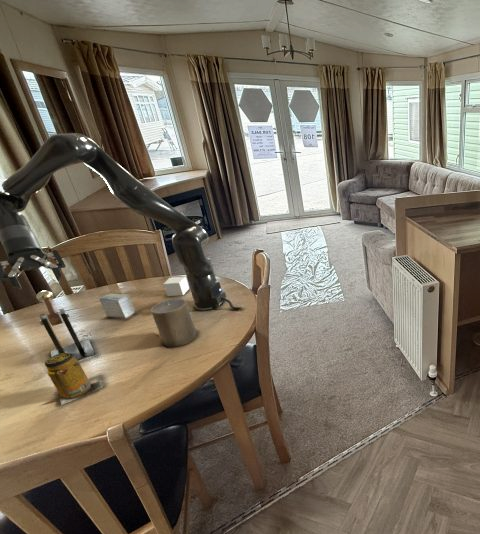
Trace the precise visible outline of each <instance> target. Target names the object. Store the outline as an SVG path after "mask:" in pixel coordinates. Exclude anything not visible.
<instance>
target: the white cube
mask: <svg viewBox="0 0 480 534" xmlns="http://www.w3.org/2000/svg"><path fill="white" fill-rule="evenodd" d="M162 284H163V287H164V291H165V293H166V297H175V296H184V295H185V294H186V293H187V292H188V290H190V287H189V283H188V280H187V277H186V276H177V277H176V276H175V277H169V278H168V279H167V280H165V282H163V283H162Z"/></svg>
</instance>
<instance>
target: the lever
mask: <svg viewBox="0 0 480 534" xmlns="http://www.w3.org/2000/svg"><path fill="white" fill-rule="evenodd" d="M54 297H55V294H54V293H53V292H51V291H50V290H42V291H39V292H38V293H37V294H36V297H35V298H36V299H37V300H38V302H41V303H44V304H45V306H46V309H47V311H48V313H49V314H47V315H46V317H47V319H48V321H49V323H50V325H51V327H54V326H57V325H58V326H59V325H61V324H63V321H62V320H63V319H62V317H61V315H60V313H59V311H58V312H56V311H55V309H54V307H53V304H52V300H53V299H54Z"/></svg>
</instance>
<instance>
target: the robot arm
mask: <svg viewBox="0 0 480 534" xmlns="http://www.w3.org/2000/svg"><path fill="white" fill-rule="evenodd" d="M76 164H84V165H86V166H87V167H89V168H90V169H92V171H94V172H96V173H97V174H98V175H100V177H101V178H103V180H104V181H105V183H106V184H107V186H108V188H109V190H110V192H111V193H112V195H113V196H114V197H115V198H116V199H117V200H118V201H119V202H120V203H122V204H123V205H125V206H126V207H127V208H128V209H130V210H131V211H133V212H135V213H136V214H138V215H140V216H142V217H145V218H148V219H150V220H153V221H156V222H158V223H160V224H162V225H165V226H166V227H167V228H169V229H170V230H171V231H173V232H174V234H173V235H172V238H171V242H172V247H173V249H174V252H175V255H176V258H177V260H178V263H179V264H180V265H181V266H182V268H183V271H184V274H185V277H186V280H187V283H188V287H189V290H190V293H191V296H192V300H193V305H194V306H195V307H194V308H195V309H196V310H198V311H209V310H216V309H217V308H219V307H220V306H221V305H222V304H223V303H224V302H227V303H228V304H229V306H230V308H231V309H233V310H242V309H243V307H241V306H236V307H235V306H234V305H233V303H232V301H231V300H229V299H227V293H226V291H223V290H222V286H221V283H220V281H217V277H216V273H215V270H214V266H213V263H212V258H210V257H209V256H206V255H205V253H204V249H203V247H205V246H206V245H207V244H208V242H209V241H210V238H209V237H210V236H209V235H208V232H207V231H206V230H205V229H204V228H203V227H202V226H200V225H199V224H197V223H196V222H195V221H193V220H191V219H189V218H188V217H187V216H185V215H184V214H183V213H181V212H179V211H178V210H177V209H175V208H174V207H173V206H172V205H170V204H169V203H168V202H167V201H165V200H164V199H162V198H161V197H160V196H159V195H158V194H156V192H154V191H153V190H152V189H150V188H149V187H148V186H147V185H146V184H144V183H143V182H141V181H140V180H139V179H137V178H136V177H135V176H134V175H133V174H131V173H130V172H129V171H128V170H127V169H125V168H124V167H122V165H120V164H119V163H118V162H117V161H115V159H113V158H112V157H111V156H110V155H109V154H108V153H107V152H106V151H105V150H104V149H102V148H101V147H100V146H99V145H98V144H97V143H96V141H94V140H92V139H91V137H89V136H86V135H84V134H82V133H78V132H68V133H67V132H66V133H65V132H63V133H56V134H53V135H49V137H48V138H46V140H45V141H44V142H43V143H42V144H41V146H40V147H39V149H38V150H37V151H36V152H35V153H34V155H33V156H31V158H30V159H29V160H28V161H27V162H26V163H25V164H24V165H23V166H21V167H20V168H19V169H17V170H16V171H15V172H14V173H12V174H10V176H8V177H7V178H6V179H4V180H3V182H2V183H1V188H2V189H1V190H0V243H1V245H2V247H3V249H4V251H5V253H6V256H7V260H3V261H0V280H1V281H3V282H5V281H9V282H10V283H11V286H12V287H13V289H18V291H20V290H22V289H23V288H22V286H21V283H20V281H19V279H18V277H19V276H20V275H21V274H22V273H23V271H26V272H27V271H31V270H37V269H41V267H43V268H45V269H49V270H51V271H52V272H53V274H54V276H55V279H56V280H57V282H59V281H61V279H63V275H62V273H61V271H60V270H61V269H66V267H67V266H66V264H65V262H64V260H63V259H62V256H61V255H60V253H59V251H58V250H56V249H53V250H52V251H51V252H44V250H43V248H42V246H41V244H40V242H39V240H38V237H37V236H36V234H35V232H34V231H33V229H32V228H31V226H30V224H29V221H28V220H27V218H26V216H25V215H24V214H22V212H23V211H24V210H26V208H27V206H28V204H29V202H30V200H31V199H32V197H33V196H34V195H36V194H37V193H38V192H39V191H41V190H42V189H43V188H44V187H46V185H47V184H48V183H49V182H50V180H51V177H52V176H53V175H54V174H55V173H56V172H57V171H59V170H62V169H63V168H65V167H67V166H69V165H76ZM49 258H51V259H53V260H54V259H55V260H56V262H57V263H52V262H50V261H49V260H48V259H49ZM7 266H12V267H11V270H10V272H9V273H7V274H6V271H5V269H6V268H7Z"/></svg>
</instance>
